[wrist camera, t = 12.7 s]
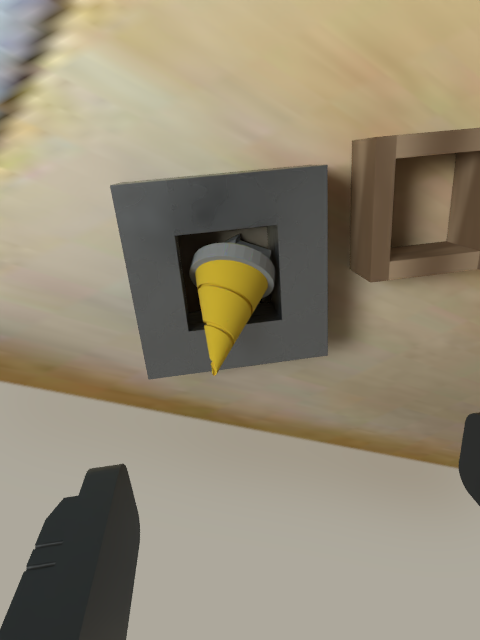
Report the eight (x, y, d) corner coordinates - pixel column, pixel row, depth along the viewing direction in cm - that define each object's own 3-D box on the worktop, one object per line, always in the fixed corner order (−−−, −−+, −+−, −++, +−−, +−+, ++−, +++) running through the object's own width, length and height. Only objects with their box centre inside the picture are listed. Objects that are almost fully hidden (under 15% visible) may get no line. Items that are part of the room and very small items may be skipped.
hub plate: (309, 164, 25) (327, 165, 22) (312, 334, 30) (327, 355, 26) (120, 182, 24) (110, 185, 21) (153, 355, 29) (148, 379, 26)
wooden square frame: (476, 129, 26) (517, 124, 22) (460, 256, 29) (494, 267, 26) (352, 140, 25) (376, 137, 22) (349, 268, 28) (370, 282, 25)
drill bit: (287, 254, 28) (271, 392, 23) (217, 258, 29) (190, 387, 25) (269, 200, 23) (245, 359, 19) (187, 210, 25) (149, 356, 21)
